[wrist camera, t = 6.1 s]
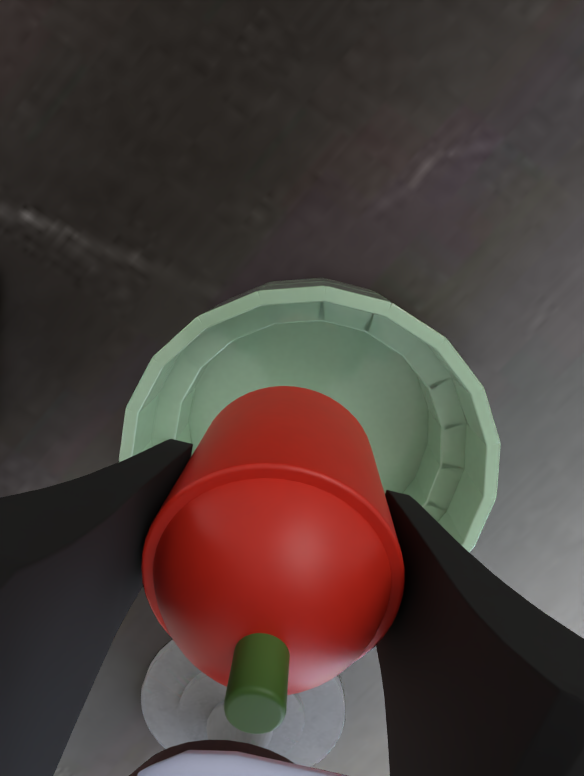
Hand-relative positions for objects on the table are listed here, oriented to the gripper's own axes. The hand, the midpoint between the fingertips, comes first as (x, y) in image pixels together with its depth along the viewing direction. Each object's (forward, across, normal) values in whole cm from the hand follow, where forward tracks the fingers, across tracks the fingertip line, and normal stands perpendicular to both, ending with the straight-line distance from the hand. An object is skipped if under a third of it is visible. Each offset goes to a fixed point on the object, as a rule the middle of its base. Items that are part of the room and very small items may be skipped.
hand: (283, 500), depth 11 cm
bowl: (+9, -1, +2) cm, 10 cm away
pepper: (+2, 0, 0) cm, 2 cm away
